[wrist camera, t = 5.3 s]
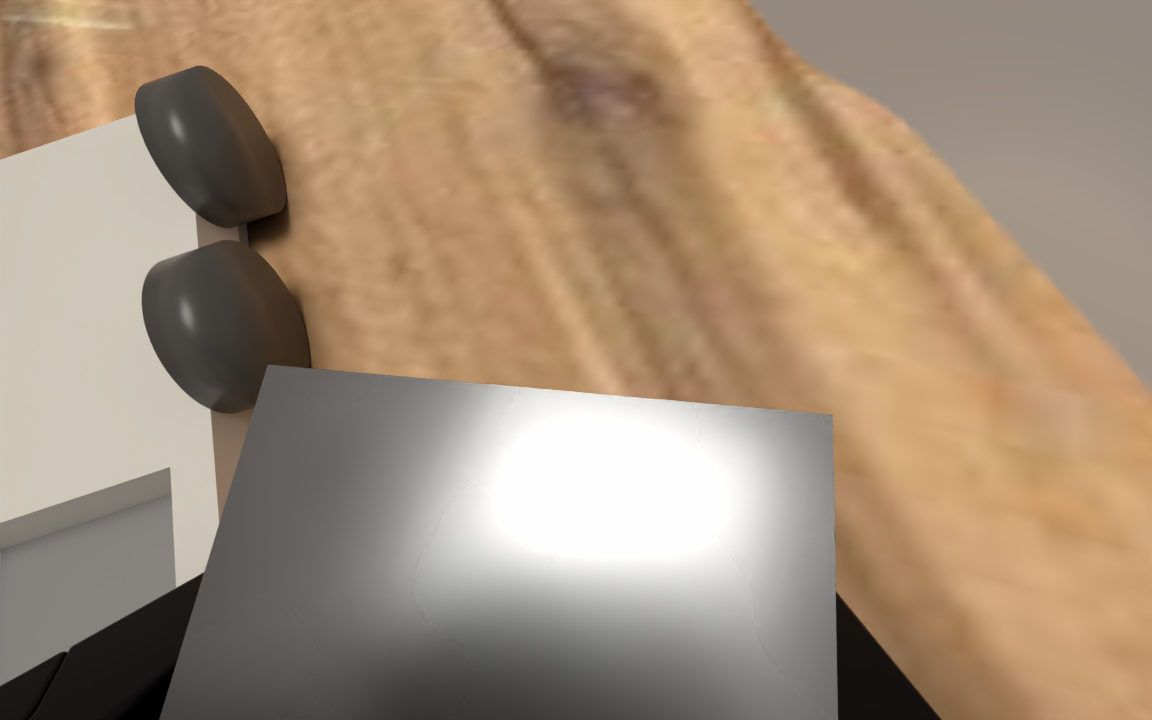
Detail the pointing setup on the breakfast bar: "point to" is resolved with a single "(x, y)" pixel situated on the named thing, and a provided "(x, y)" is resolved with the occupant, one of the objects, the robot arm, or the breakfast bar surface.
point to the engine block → (515, 559)
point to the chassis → (129, 355)
